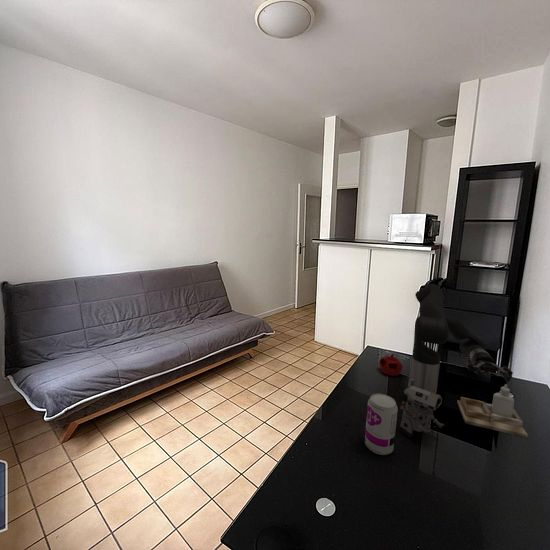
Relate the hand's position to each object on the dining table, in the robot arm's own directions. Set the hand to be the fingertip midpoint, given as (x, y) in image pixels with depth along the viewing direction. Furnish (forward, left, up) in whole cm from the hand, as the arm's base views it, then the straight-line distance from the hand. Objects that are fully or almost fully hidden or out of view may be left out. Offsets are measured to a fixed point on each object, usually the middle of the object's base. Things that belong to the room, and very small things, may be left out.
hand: (494, 376), depth 109 cm
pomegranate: (-36, +9, -11) cm, 39 cm away
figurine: (-27, -31, -11) cm, 42 cm away
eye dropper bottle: (0, -11, -10) cm, 15 cm away
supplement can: (-39, -42, -11) cm, 58 cm away
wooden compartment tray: (-3, -12, -11) cm, 16 cm away
